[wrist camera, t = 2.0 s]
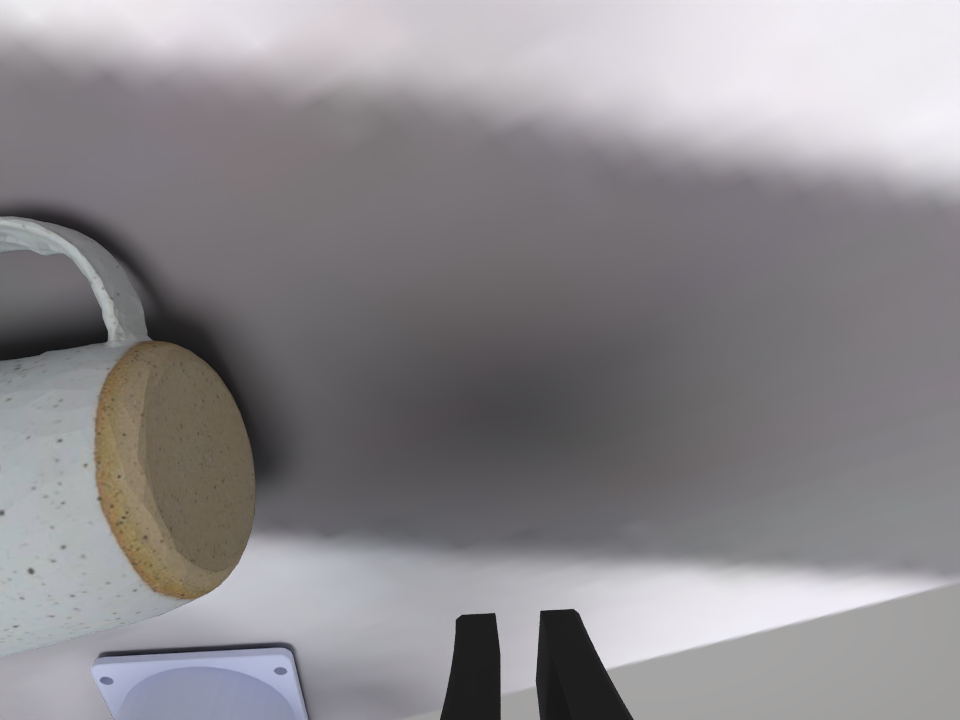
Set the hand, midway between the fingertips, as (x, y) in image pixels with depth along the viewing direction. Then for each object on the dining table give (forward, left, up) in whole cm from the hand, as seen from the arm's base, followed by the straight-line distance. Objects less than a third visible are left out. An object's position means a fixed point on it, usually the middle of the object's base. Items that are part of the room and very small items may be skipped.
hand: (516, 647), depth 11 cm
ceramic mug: (+1, +12, -10) cm, 16 cm away
